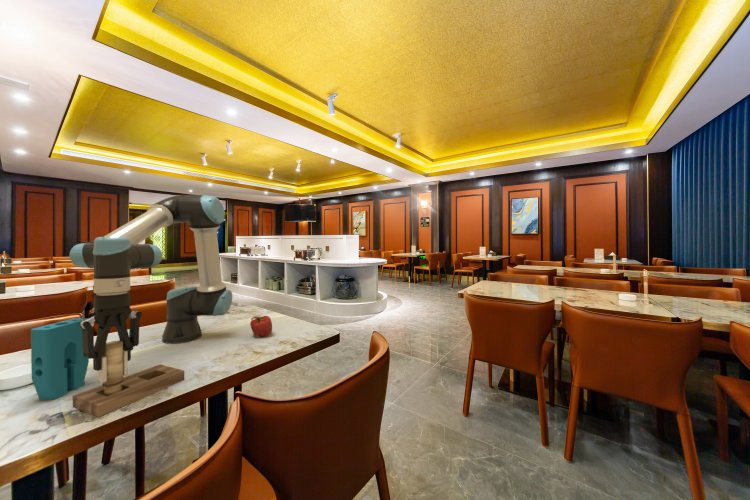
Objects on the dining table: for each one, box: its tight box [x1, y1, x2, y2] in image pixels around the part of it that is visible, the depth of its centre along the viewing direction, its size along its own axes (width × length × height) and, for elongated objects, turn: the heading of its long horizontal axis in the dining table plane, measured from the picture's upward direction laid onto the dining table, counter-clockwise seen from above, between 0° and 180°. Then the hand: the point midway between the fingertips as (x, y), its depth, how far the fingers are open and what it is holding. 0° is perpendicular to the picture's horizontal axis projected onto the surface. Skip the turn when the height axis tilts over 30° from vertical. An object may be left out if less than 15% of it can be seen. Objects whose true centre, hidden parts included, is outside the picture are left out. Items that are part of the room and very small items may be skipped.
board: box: [72, 363, 185, 418], centre depth 86 cm, size 12×22×3 cm, turn 158°
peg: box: [101, 340, 124, 396], centre depth 81 cm, size 4×4×14 cm
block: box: [30, 317, 90, 401], centre depth 85 cm, size 12×5×20 cm, turn 1°
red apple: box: [249, 315, 273, 338], centre depth 138 cm, size 11×10×10 cm
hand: (112, 377), depth 81 cm, fingers closed on peg, 4 cm apart
